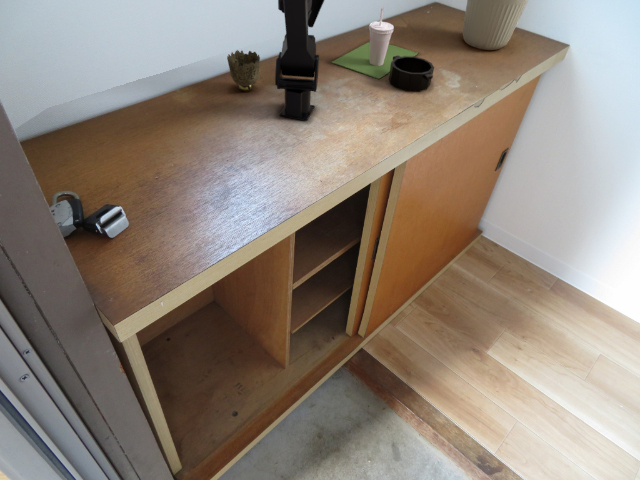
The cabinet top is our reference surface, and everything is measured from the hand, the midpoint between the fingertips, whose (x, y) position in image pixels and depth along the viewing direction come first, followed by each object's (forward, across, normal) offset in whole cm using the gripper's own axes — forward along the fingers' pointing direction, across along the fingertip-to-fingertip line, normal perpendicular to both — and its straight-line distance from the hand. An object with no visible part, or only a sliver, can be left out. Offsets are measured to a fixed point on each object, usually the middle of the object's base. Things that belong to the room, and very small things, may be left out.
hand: (304, 33), depth 101 cm
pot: (+12, -11, +25) cm, 30 cm away
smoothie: (+12, -19, +15) cm, 27 cm away
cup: (+12, +8, -12) cm, 19 cm away
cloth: (+12, -22, +14) cm, 29 cm away
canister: (+12, -46, +43) cm, 64 cm away
